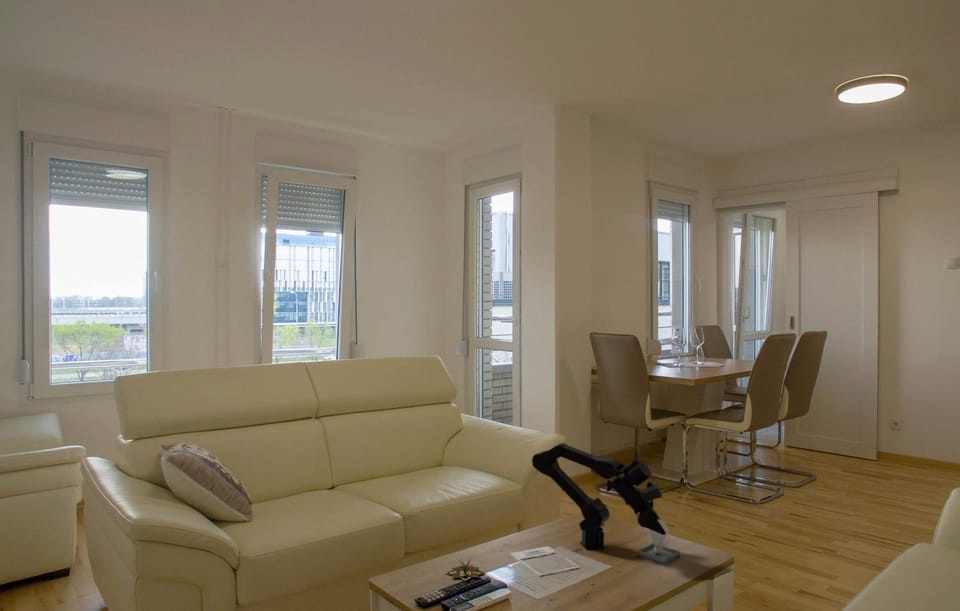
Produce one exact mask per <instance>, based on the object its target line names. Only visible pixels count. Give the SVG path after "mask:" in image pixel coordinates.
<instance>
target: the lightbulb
mask: <svg viewBox="0 0 960 611" xmlns="http://www.w3.org/2000/svg"><path fill="white" fill-rule="evenodd" d="M657 520H658V522H659V523H660V525H661V526H662V527H663V529H664V530H665V532H666V534H665V535H662V534H660V533H657V532H655V531H653V530H650V529H648V528H647V532H648V535H649V536H650V538H651V540H652V543H653V544H654V552H655V553H656V554H660V553H662V546H664V545H663V544H664V540H665V539H667V536H668V534H669V528H668V524H666V522H665V521H663V520H662V519H660V520H659V519H657Z"/></svg>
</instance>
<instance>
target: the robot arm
mask: <svg viewBox="0 0 960 611" xmlns="http://www.w3.org/2000/svg"><path fill="white" fill-rule="evenodd" d="M560 458H563V459H566V460H568V461H570V462H573V463H576V464H577V465H581V466H584V467H586V468H588V469H590V470H592V471H593V472H594V473H595V474H596V475H597V476H599V477H601V478H603V479H606V480H607V482H606V492H610V491H611V490H612V489H613V490H614V491H615V492H616V493H617V495H618V496H619V497H620V498H621V499H622V500H623V501H624V503H625V505H626V506H629V507H630V509H632V511H633V513H634V515H635V516H637V517H636V518H637V523H638V524H639V526H640V527H641V528H643V529H644V528H646V529H647V530H648V529H650V530H653V531H655V532H657V533H660V534H662V535H665V534H666V532H665V530H664V529H663V527H662V526H661V525H660V523H659V522H658V520H657V519H659V520H661V518H660V516H659V515H658V513H657V511H656V510H655V508H654V500H656V499H661V498H662V497H663V494H662V491H661V489H660V487H659V485H658V484H657V483H653V482H651V481H647V480H648V479H650V478H651V477H652V471H651V469H650V468H649V466H648V465H646V464H645V463H644V462H642V461H640V460H639V458H636V459H635V460H634V461H633V462H632V463H631V464H629V465H627V464H623V463H621V462H619V460H618V459H616V458H612V457H608V456H598V455H595V454H592V453H589V452H586V451H583V450H581V449H578V448H576V447H573V446H570V445H568V444H566V443H565V442H563V443H562V442H561V443H558V444H556V445H555V446H554V447H552V448H550V449H548V450H544V451H543V450H542V451H541V452H537V453H535V454H534V455H533V456H532V458H531V462H532V463H531V464H532V467H533V469H535V470H537V471H538V472H539V473H540V474H542V475H544V476H547V477H549V478H551V480H553V481H554V483H555V484H556V485H557V486H558V487H559V488H560V489H561V490H562V491H563V492H564V493H565V494H566V495H567V496H568V497H569V498H570V499H571V500H572V501H573V502H574V503H575V504H576V505H577V506H578V507H579V510H580V513H581V515H582V517H583V518H584V519H583V520H582V521H580V522H579V524H578V525H579V527H580V528H579V529H580V530H581V541H579V544H580V545H581V546H582V547H583V548H584V549H585V550H587V551H591V550H594V551H595V550H604V549H605V546H604V545H605V533H604V532H603V531H604V529H603V527H604V526H605V523H606V522H608V520H610V511H609V509H608V505H607V504H605V503H604V502H603V501H602V500H601V498H599V497H596V498H595V499H594V498H591V497H590V496H589V495H588V494H587V493H585V492H584V490H582V488H581V487H580V486H579V485H578V484H577V483H576V482H575V481H574V480H573V479H572V478H571V477H570V476H569V475H568V474H567V473H566V472H565V471H564V470H563V469H562V468H561V467H560V465H559V460H558V459H560ZM621 475H622V476H621ZM614 477H615V478H614ZM611 478H614V479H612V480H610V479H611ZM646 481H647V482H646ZM644 482H646V485H645V487H644V488H643V489H640V487H639V486H641V485H642V484H643V483H644Z"/></svg>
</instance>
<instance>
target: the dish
mask: <svg viewBox="0 0 960 611" xmlns="http://www.w3.org/2000/svg"><path fill="white" fill-rule="evenodd" d="M636 557H637V558H638V557H639V558H641V559H643V558H644V560H646V559H647V561H649V560H650V562H652V561H653V563H655V562H656V563H655V564H658V563H659V565H661V564H662V566H664V567H665V566H667V565H669V564H671V563H672V562H674V561H676V560H677V559H679V558H681V551H680V550H678V549H677V550H676V549H674V548H670V547H667V546H664V545H662V553H660V554H656V553H655V552H654V544H653V542H651V543H650V544H648V545H645V546H643V547H641V548H639V549H637V550H636ZM666 564H667V565H666Z"/></svg>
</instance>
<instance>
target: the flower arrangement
mask: <svg viewBox="0 0 960 611" xmlns="http://www.w3.org/2000/svg"><path fill="white" fill-rule="evenodd" d="M461 561H462V562H461ZM458 562H460V563H461V565H460V564H459V565H458V566H454V567H452V568H451V569H452V570H449V571H447V572H448V573H450V572H454V571H456V572H457V573H454V574H453V575H452V574H449V575H451V576H452V579H453V578H454V577H456V578H455V579H457V578H460V577H463V576H460V571H464V573H463V574H465V573H467V572H468V571H470V572H471V575H469V574H468V573H467V575H468V576H467V577H472V578H474V576H478V575H479V576H480V575H483V574H486V572H484V571H482V570H478V568H477V566H473V565H474V564H470V562H472V560H471V559H469V560H468V561H467V563H466V564H465V563H464V561H463V560H462V558H460V560H458ZM469 565H470V566H469ZM466 571H467V572H466ZM475 571H476V572H478V573H482V574H477V573H473V572H475ZM479 576H478V577H479ZM460 580H462V581H463V579H462V578H460Z"/></svg>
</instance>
